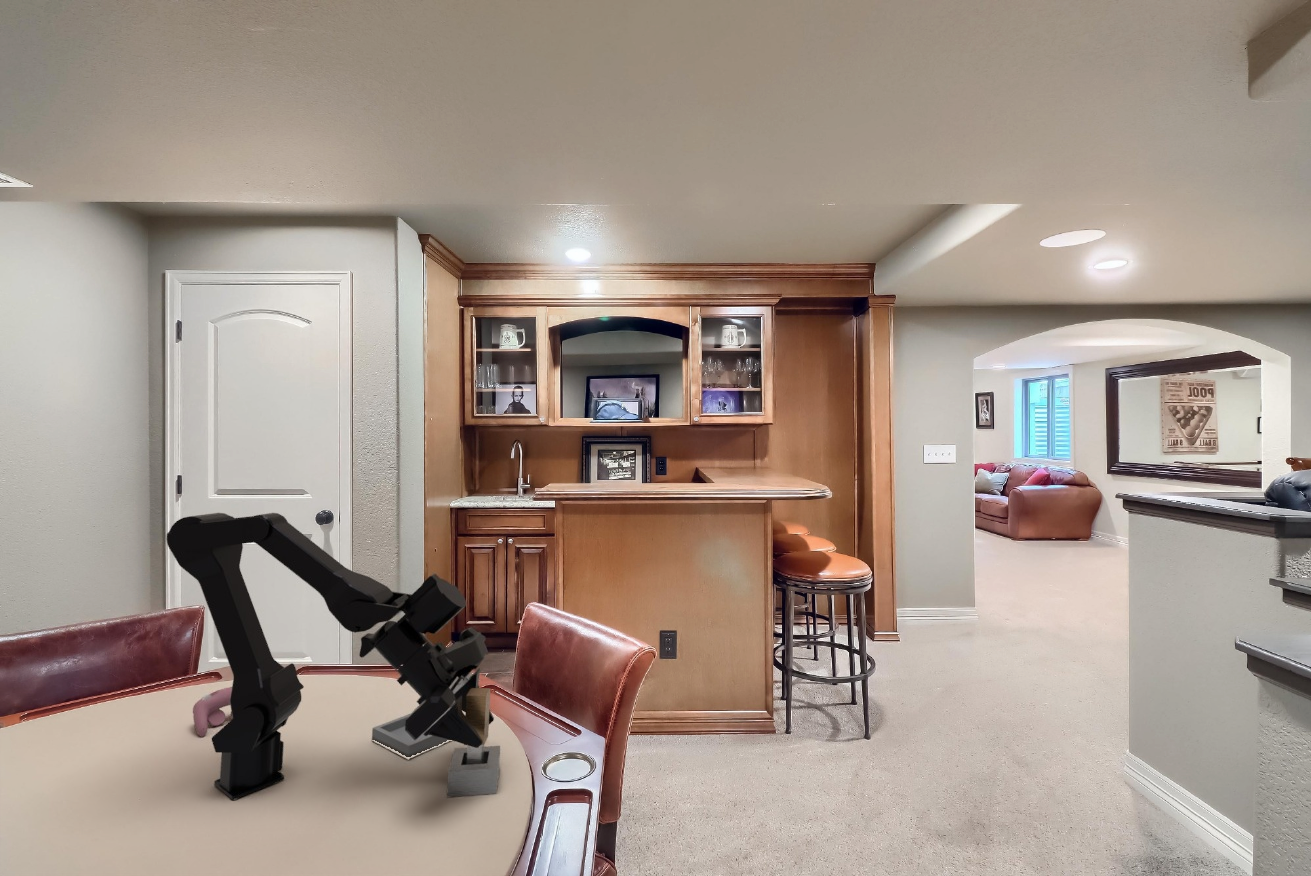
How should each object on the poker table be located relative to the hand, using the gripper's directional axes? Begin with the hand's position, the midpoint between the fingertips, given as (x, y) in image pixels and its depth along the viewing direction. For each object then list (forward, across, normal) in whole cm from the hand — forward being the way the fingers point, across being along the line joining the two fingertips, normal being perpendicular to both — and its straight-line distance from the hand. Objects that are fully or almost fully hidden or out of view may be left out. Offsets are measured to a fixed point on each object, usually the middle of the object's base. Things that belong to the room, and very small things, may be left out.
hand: (486, 733), depth 85 cm
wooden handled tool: (+4, 0, +6) cm, 7 cm away
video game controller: (-28, +18, +39) cm, 52 cm away
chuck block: (+4, 0, +6) cm, 7 cm away
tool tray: (-5, +13, +15) cm, 21 cm away
